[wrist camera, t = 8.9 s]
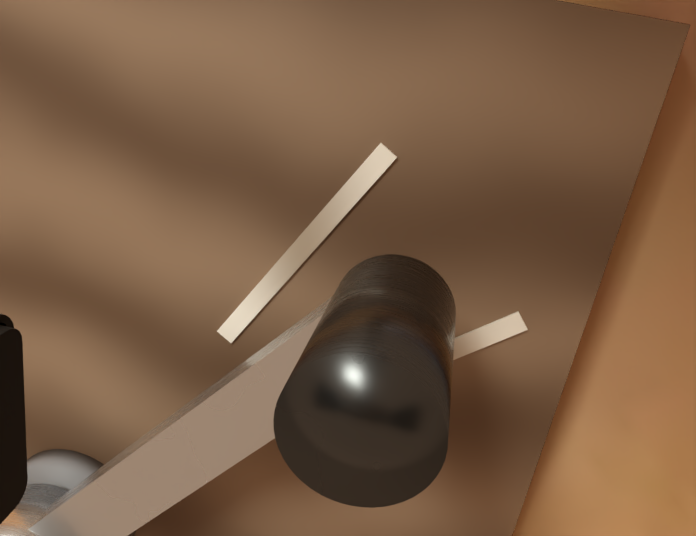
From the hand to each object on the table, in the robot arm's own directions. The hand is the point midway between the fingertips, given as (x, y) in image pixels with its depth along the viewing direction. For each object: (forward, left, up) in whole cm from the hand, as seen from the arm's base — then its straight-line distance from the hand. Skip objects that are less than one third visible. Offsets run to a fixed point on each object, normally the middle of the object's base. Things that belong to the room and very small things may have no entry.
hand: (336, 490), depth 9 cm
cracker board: (+5, -4, -12) cm, 14 cm away
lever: (+7, -5, -9) cm, 13 cm away
